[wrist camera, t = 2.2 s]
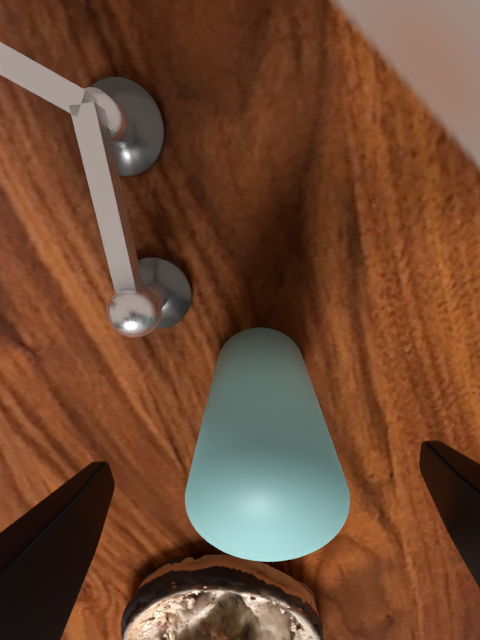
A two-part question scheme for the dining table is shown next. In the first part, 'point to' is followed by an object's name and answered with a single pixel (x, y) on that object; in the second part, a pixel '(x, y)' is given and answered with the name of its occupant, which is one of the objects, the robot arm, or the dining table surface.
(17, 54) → the railing
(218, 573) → the sushi roll
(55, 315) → the dining table surface
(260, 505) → the peg
